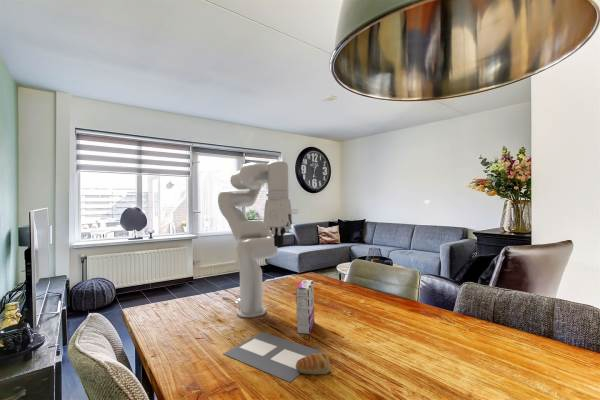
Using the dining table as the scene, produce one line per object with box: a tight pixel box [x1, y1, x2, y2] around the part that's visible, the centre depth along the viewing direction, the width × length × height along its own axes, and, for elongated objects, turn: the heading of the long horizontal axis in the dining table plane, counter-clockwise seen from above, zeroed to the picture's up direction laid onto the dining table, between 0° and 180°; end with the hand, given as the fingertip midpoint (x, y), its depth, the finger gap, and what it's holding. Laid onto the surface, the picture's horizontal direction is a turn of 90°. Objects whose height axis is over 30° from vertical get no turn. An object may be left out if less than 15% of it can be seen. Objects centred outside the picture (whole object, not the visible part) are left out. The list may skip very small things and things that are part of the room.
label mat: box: [222, 331, 326, 384], centre depth 90 cm, size 26×18×1 cm
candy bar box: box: [295, 279, 315, 335], centre depth 108 cm, size 11×5×16 cm, turn 168°
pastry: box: [296, 351, 331, 376], centre depth 81 cm, size 9×7×4 cm
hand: (278, 245), depth 106 cm, fingers closed
